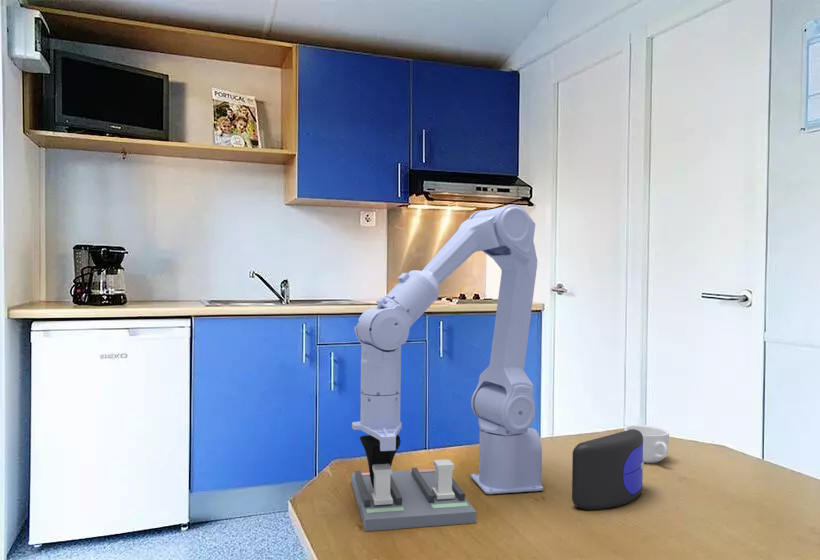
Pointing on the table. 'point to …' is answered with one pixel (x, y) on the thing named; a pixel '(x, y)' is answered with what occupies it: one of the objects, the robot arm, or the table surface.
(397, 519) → the panel
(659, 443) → the teacup
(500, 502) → the table surface
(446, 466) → the breaker
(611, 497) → the leaning round-cornered charcoal block
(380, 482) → the breaker
